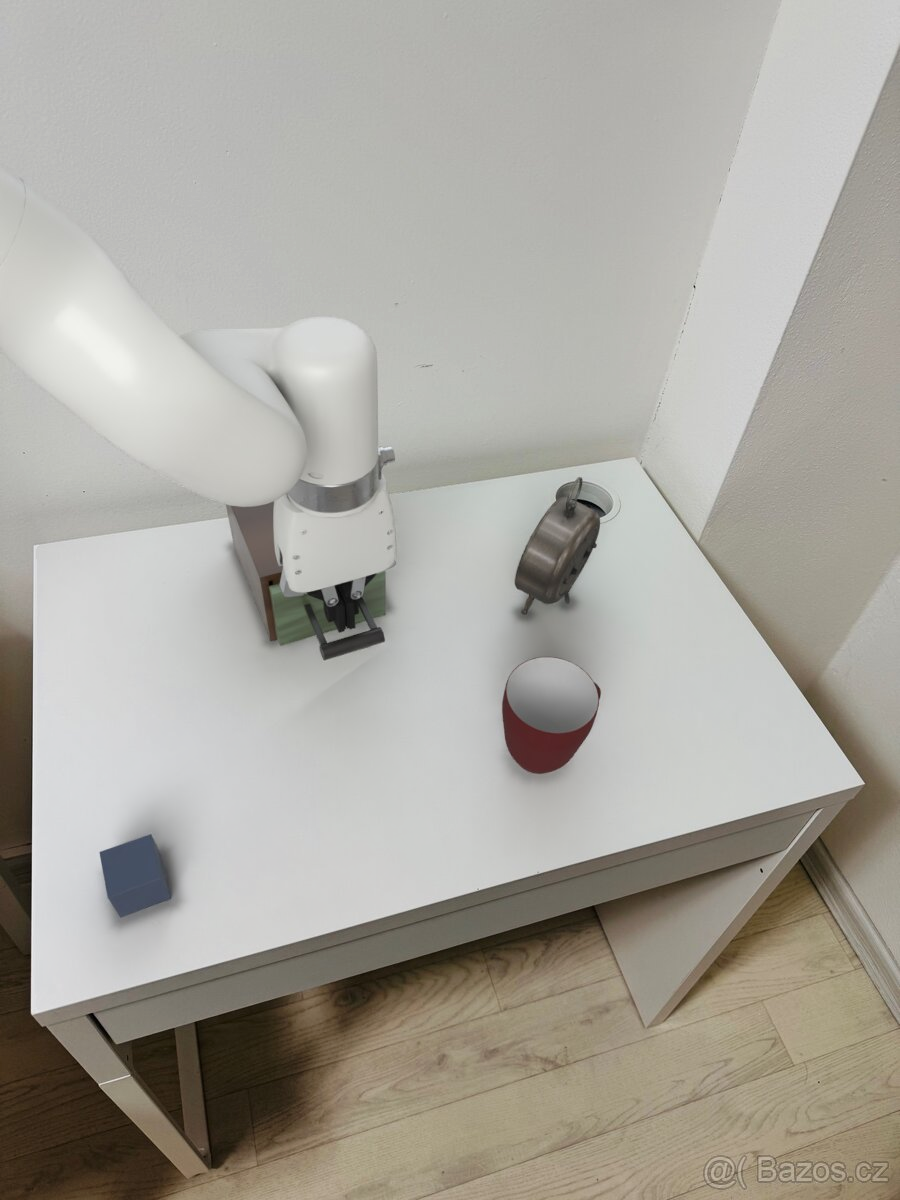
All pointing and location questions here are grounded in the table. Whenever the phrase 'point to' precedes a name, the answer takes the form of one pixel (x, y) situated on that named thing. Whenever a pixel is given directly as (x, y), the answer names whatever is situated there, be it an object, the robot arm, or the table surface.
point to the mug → (548, 712)
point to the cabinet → (256, 554)
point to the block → (134, 875)
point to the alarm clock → (557, 550)
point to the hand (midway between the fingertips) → (341, 619)
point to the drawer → (309, 619)
